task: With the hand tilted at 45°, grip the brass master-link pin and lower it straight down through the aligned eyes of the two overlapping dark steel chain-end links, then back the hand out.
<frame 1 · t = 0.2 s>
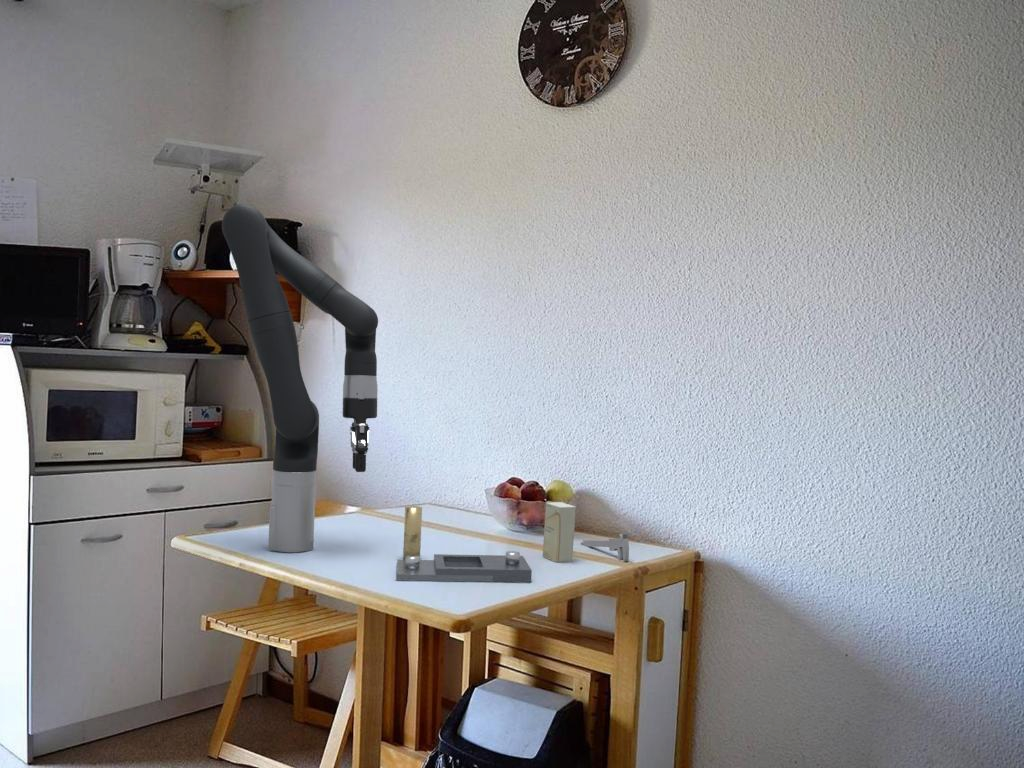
hand: (358, 470, 195), 18 cm above the table, tool pointing down, fingers open, 8 cm apart
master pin: (411, 558, 189), on the table
chain end upper: (462, 573, 178), on the table
chain end lower: (462, 573, 178), on the table
skincare box: (557, 560, 195), on the table
caliper: (603, 554, 205), on the table
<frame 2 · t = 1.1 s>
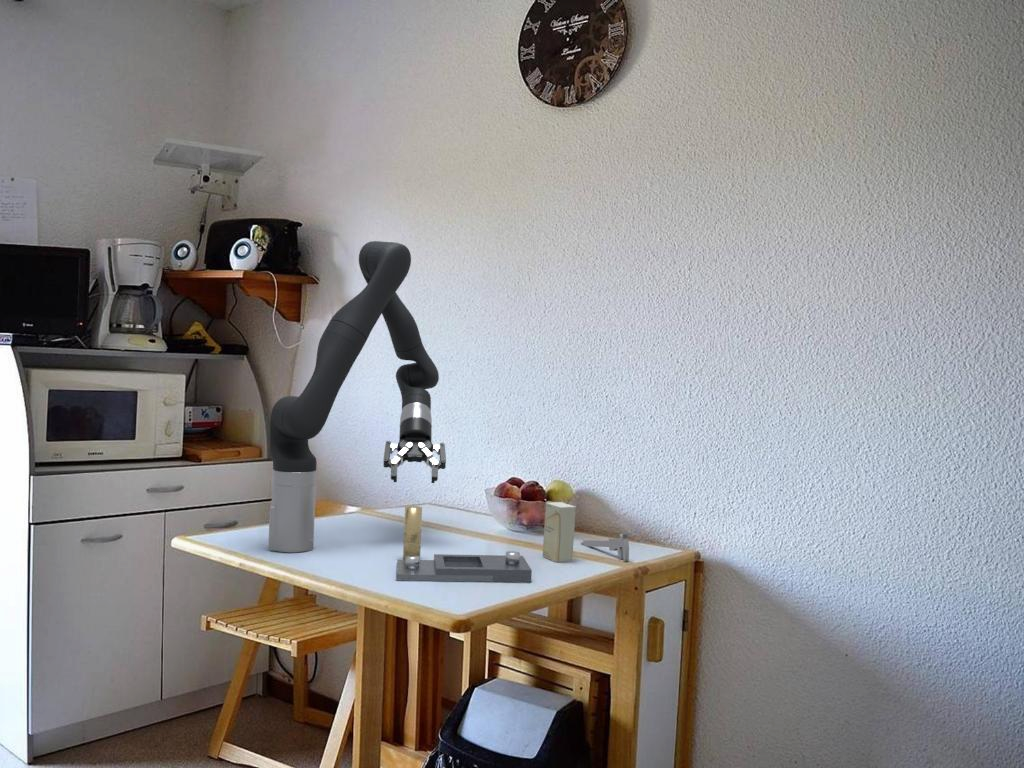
hand: (414, 480, 201), 15 cm above the table, tool tilted 45°, fingers open, 8 cm apart
nothing on the table moved.
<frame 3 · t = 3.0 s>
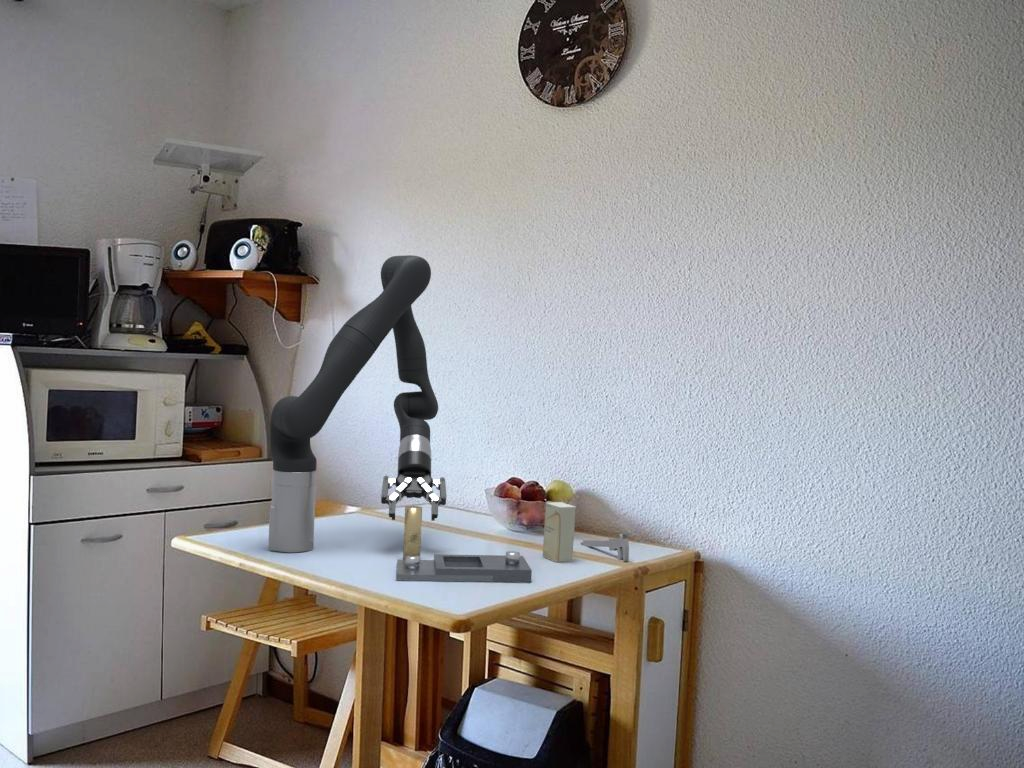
hand: (413, 518, 192), 8 cm above the table, tool tilted 45°, fingers open, 8 cm apart
nothing on the table moved.
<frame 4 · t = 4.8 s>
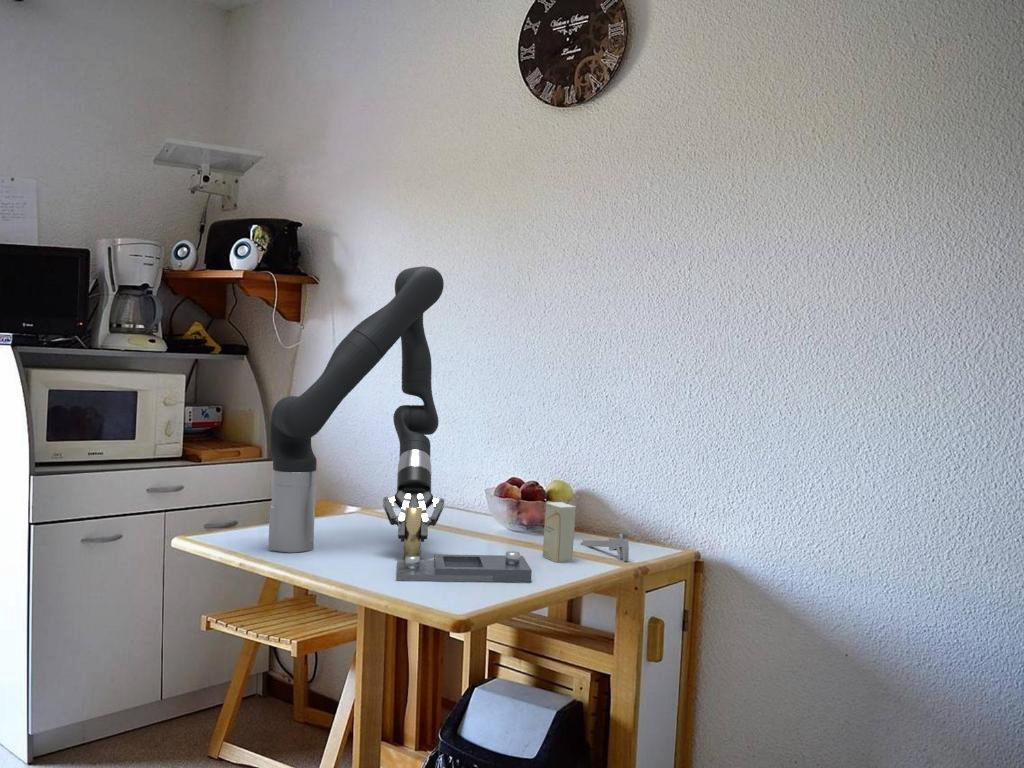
hand: (412, 539, 187), 5 cm above the table, tool tilted 45°, fingers closed on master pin, 3 cm apart
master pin: (411, 558, 189), on the table, touching gripper
everything else where it was.
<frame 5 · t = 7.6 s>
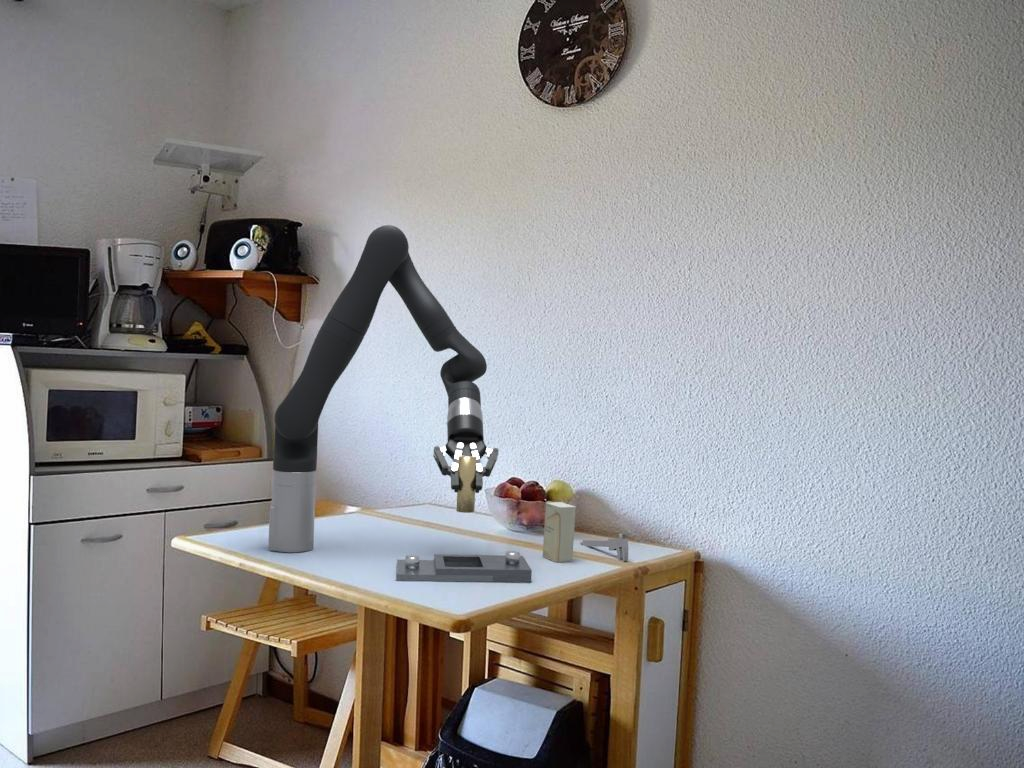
hand: (467, 489, 176), 17 cm above the table, tool tilted 45°, fingers closed on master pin, 3 cm apart
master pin: (465, 511, 178), point 12 cm above the table, touching gripper
everything else where it was.
when the fingers open (6 cm above the table, at t = 10.8 s): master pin drops 1 cm, resting in chain end lower.
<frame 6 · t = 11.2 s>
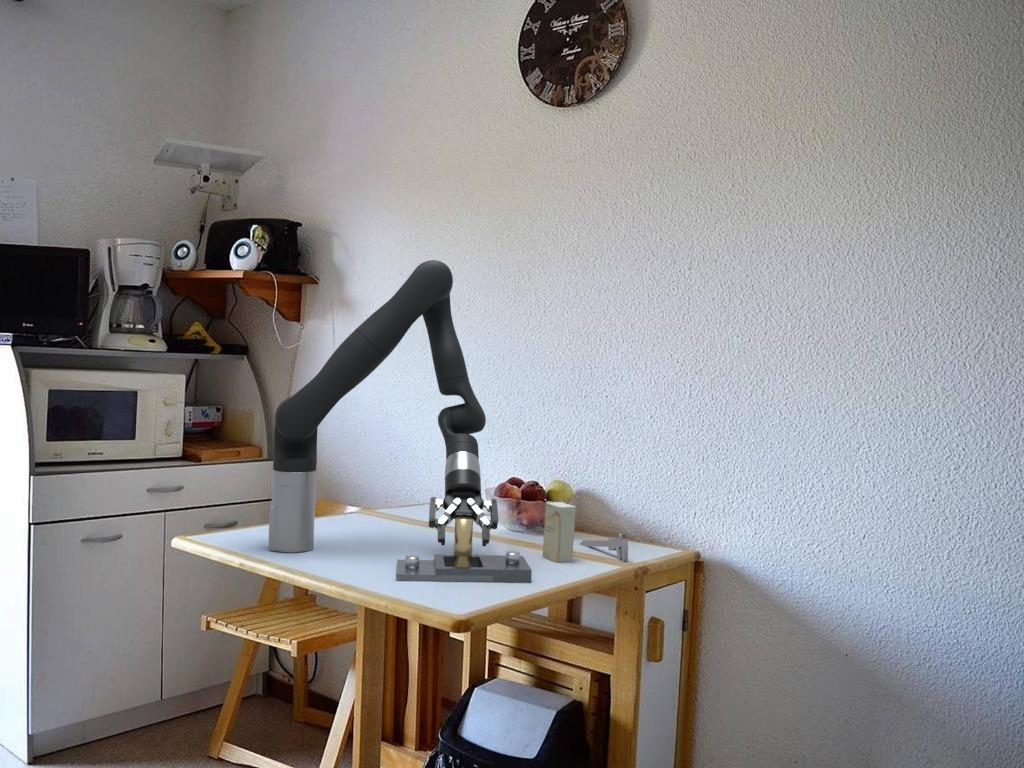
hand: (464, 543, 176), 6 cm above the table, tool tilted 45°, fingers open, 8 cm apart
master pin: (461, 573, 178), resting in chain end lower
everything else where it was.
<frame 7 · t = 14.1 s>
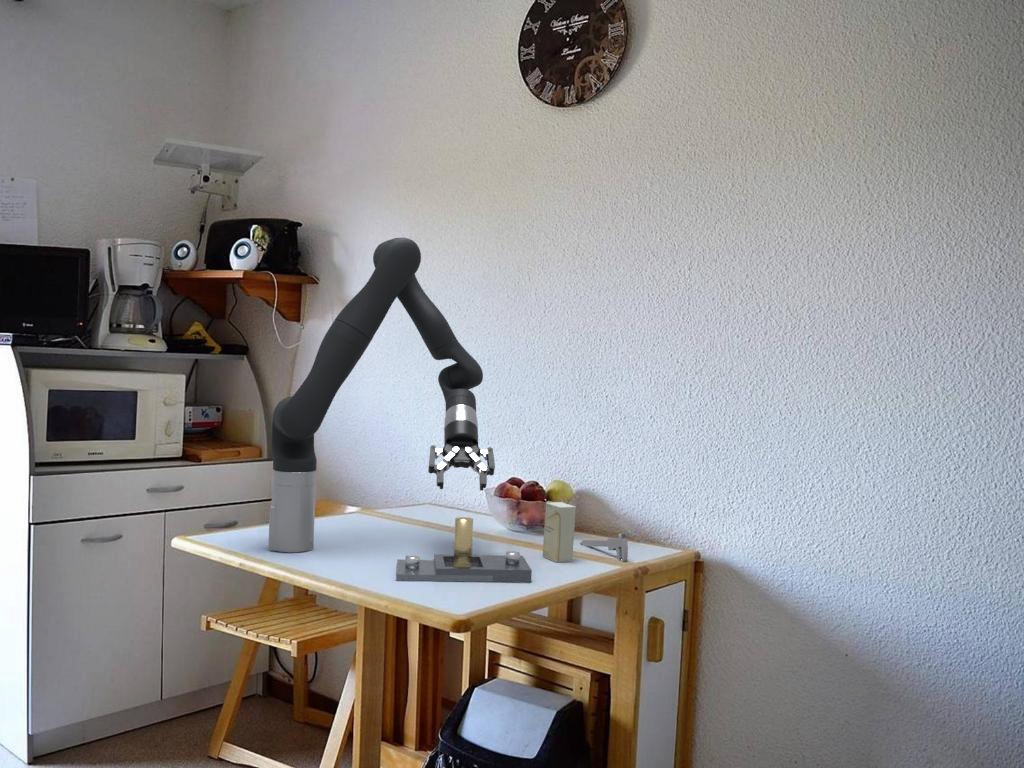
hand: (461, 487, 188), 16 cm above the table, tool tilted 45°, fingers open, 8 cm apart
nothing on the table moved.
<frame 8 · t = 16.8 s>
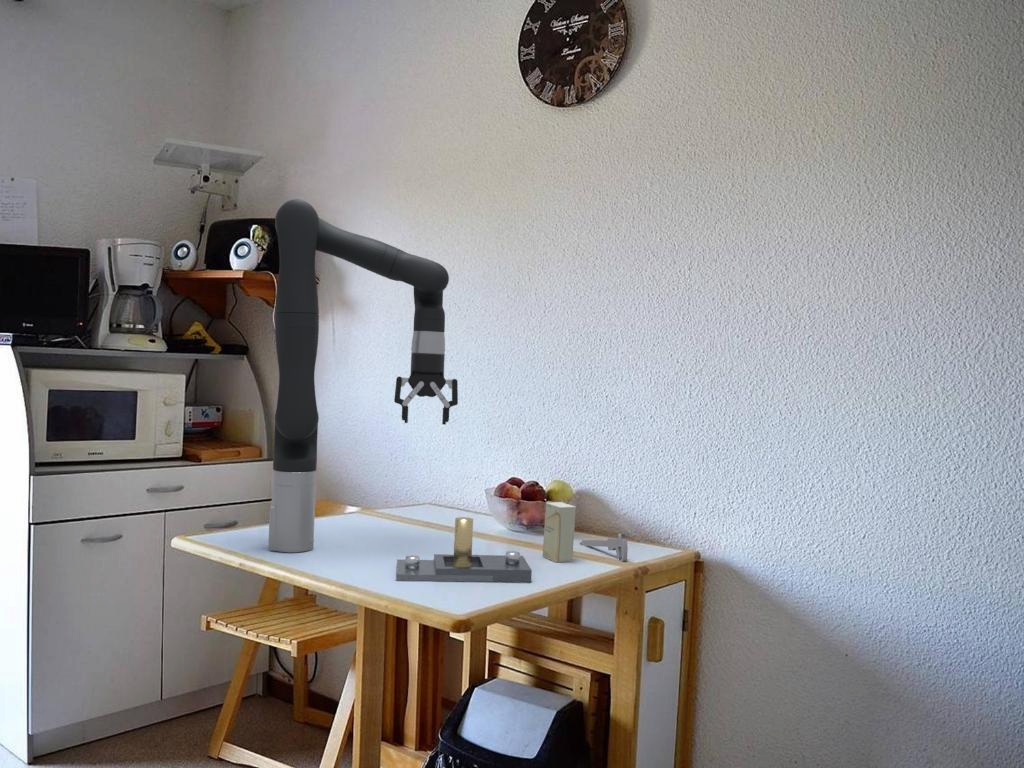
hand: (425, 423, 201), 28 cm above the table, tool pointing down, fingers open, 8 cm apart
nothing on the table moved.
at the end: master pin 0.1 cm off-centre on the chain end lower, point 0.0 cm above the chain end lower's base; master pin tilted 0°; the gripper is holding nothing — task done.
